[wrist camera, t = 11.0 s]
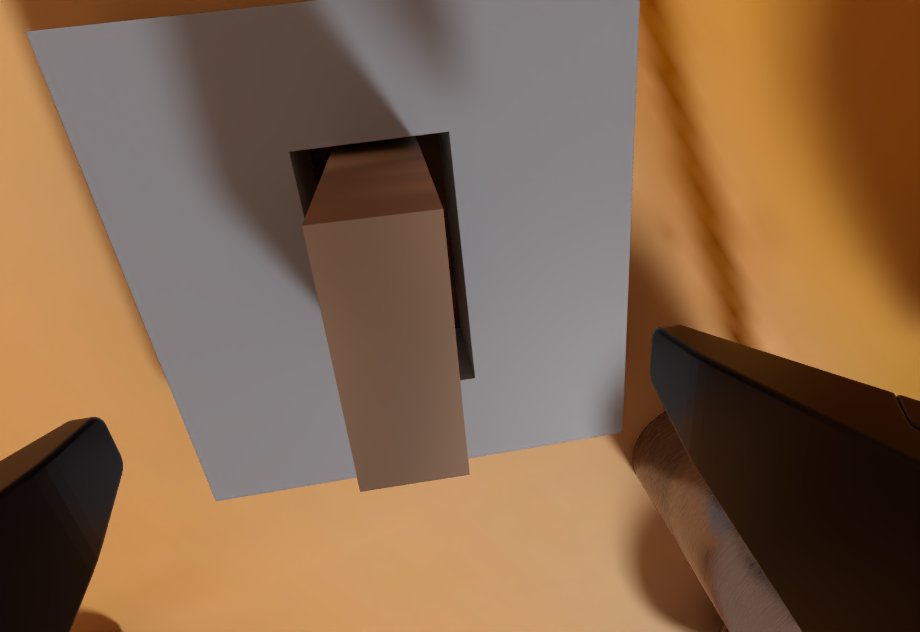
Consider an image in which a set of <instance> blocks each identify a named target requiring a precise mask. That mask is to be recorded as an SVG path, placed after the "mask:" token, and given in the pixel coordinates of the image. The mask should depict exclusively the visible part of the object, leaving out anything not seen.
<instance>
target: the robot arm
mask: <svg viewBox="0 0 920 632" xmlns="http://www.w3.org/2000/svg"><path fill="white" fill-rule="evenodd" d="M650 375H651V380H652V383H653V385H654V387H655V389H656V391H657V393H658V395H659V397H660V399H661V402H662V404H663V406H664V408H665V410H666V412H667V414H668V416H669V418H670V420H671V422H672V424H673V426H674V428H675V430H676V432H677V434H678V436H679V438H680V440H681V442H682V444H683V446H684V448H685V450H686V452H687V454H688V456H689V457H690V459H691V460H692V462H693V464H694V465H695V467H696V469H697V470H698V472H699V473H700V475H701V476H702V478H703V479H704V481H705V483H706V484H707V486H708V487H709V489H710V490H711V492H712V493H713V495H714V496H715V498H716V500H717V501H718V503H719V504H720V506H721V507H722V509H723V510H724V512H725V514H726V515H727V517H728V518H729V520H730V521H731V523H732V524H733V526H734V527H735V529H736V531H737V532H738V534H739V535H740V537H741V538H742V540H743V541H744V543H745V544H746V546H747V548H748V549H749V551H750V552H751V554H752V555H753V557H754V558H755V560H756V562H757V563H758V565H759V566H760V568H761V569H762V571H763V572H764V574H765V575H766V577H767V579H768V580H769V582H770V583H771V585H772V586H773V588H774V589H775V591H776V592H777V594H778V596H779V597H780V599H781V600H782V602H783V603H784V605H785V606H786V608H787V610H788V611H789V613H790V614H791V616H792V617H793V619H794V620H795V622H796V623H797V625H798V627H799V628H800V630H801V631H802V632H920V401H918V400H914V399H911V398H908V397H905V396H902V395H898V396H897V397H896V396H895V394H894V393H892V392H889V391H886V390H883V389H880V388H876V387H873V386H870V385H867V384H864V383H861V382H858V381H854V380H851V379H848V378H845V377H842V376H839V375H836V374H833V373H829V372H826V371H823V370H820V369H817V368H814V367H811V366H807V365H804V364H801V363H798V362H795V361H792V360H789V359H786V358H782V357H779V356H776V355H773V354H770V353H767V352H764V351H760V350H757V349H754V348H751V347H748V346H745V345H742V344H738V343H735V342H732V341H729V340H726V339H723V338H720V337H717V336H713V335H710V334H707V333H704V332H701V331H698V330H695V329H691V328H688V327H685V326H682V325H672V326H665V327H660V328H657V329H656V330H655V331H654V332H653V336H652V346H651V362H650ZM122 471H123V462H122V458H121V455H120V453H119V451H118V449H117V447H116V444H115V442H114V440H113V438H112V436H111V434H110V432H109V430H108V428H107V426H106V424H105V423H104V421H103V420H101V419H100V418H97V417H90V418H83V419H77V420H72V421H69V422H66V423H65V424H63V425H61V426H60V427H58V428H56V429H54V430H53V431H51V432H49V433H48V434H46V435H44V436H43V437H41V438H39V439H37V440H36V441H34V442H32V443H31V444H29V445H27V446H25V447H24V448H22V449H20V450H19V451H17V452H15V453H13V454H12V455H10V456H8V457H7V458H5V459H3V460H2V461H0V632H70V630H71V628H72V625H73V623H74V620H75V618H76V615H77V613H78V610H79V608H80V605H81V603H82V600H83V598H84V595H85V593H86V590H87V587H88V585H89V582H90V580H91V577H92V575H93V572H94V569H95V567H96V564H97V561H98V558H99V555H100V551H101V548H102V545H103V541H104V538H105V534H106V531H107V527H108V523H109V520H110V516H111V512H112V509H113V505H114V501H115V498H116V494H117V490H118V487H119V483H120V479H121V476H122Z"/></svg>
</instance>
